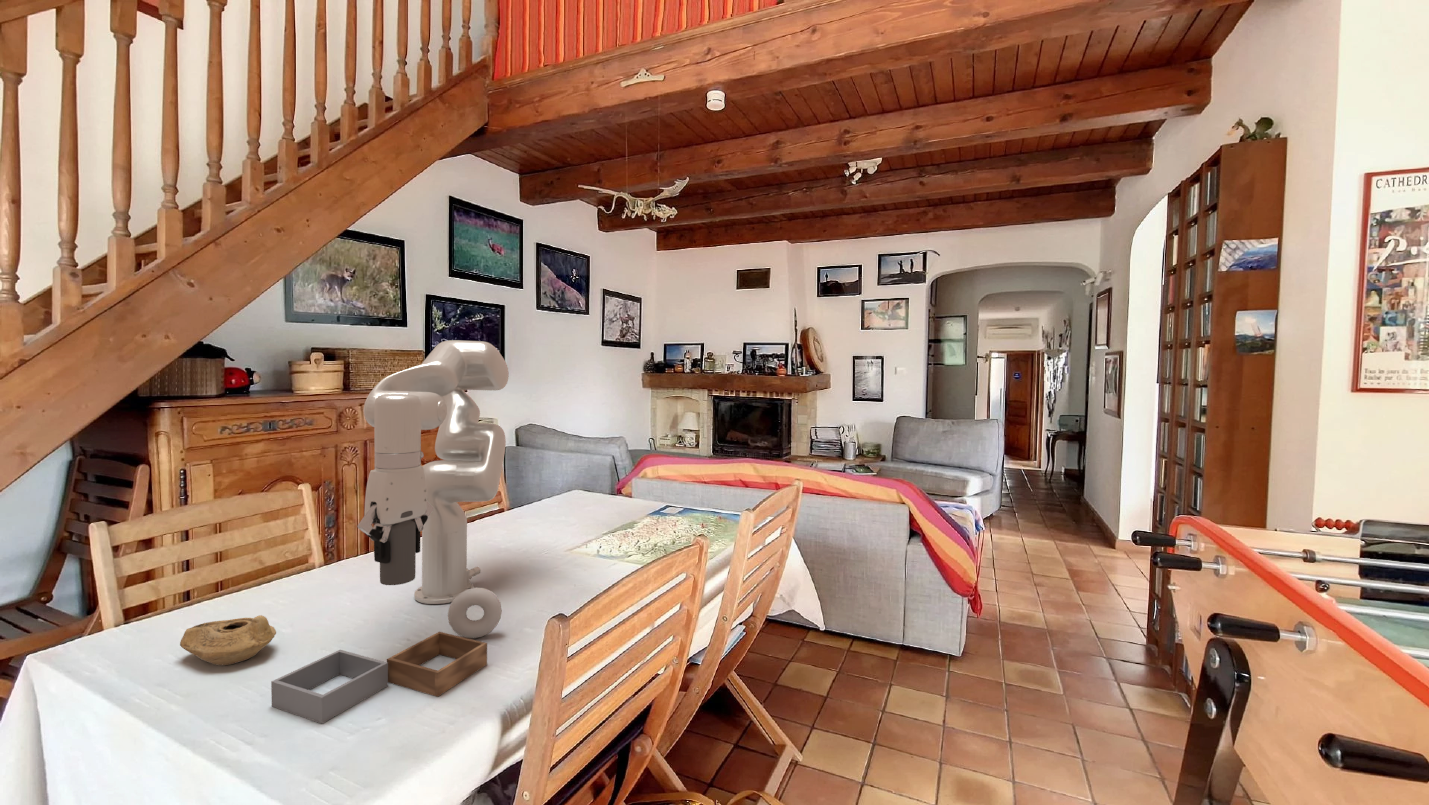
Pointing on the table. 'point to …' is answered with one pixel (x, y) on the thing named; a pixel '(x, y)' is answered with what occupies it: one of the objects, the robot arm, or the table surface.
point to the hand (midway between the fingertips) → (397, 556)
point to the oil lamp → (228, 639)
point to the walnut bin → (433, 681)
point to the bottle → (400, 553)
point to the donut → (474, 627)
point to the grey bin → (320, 708)
